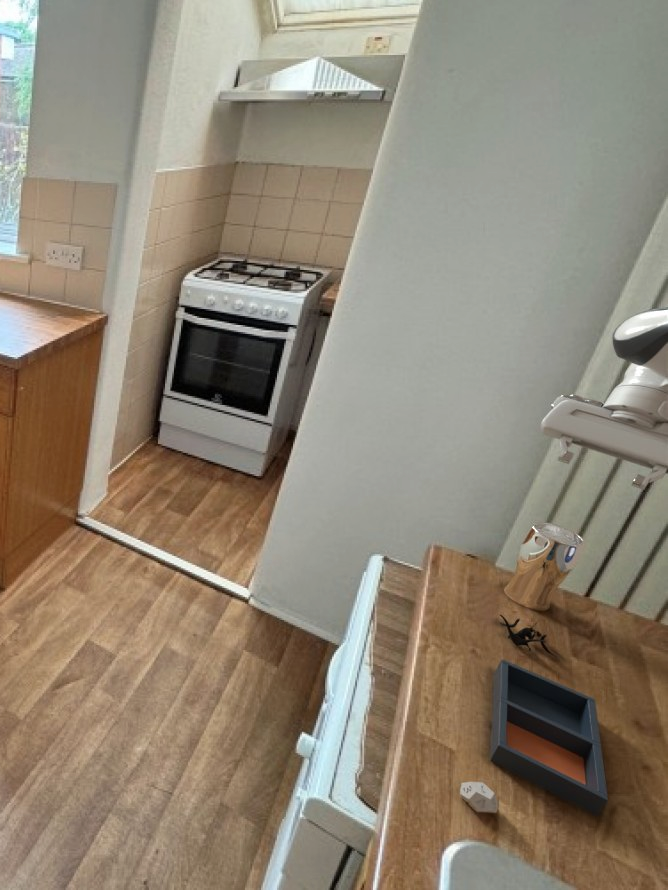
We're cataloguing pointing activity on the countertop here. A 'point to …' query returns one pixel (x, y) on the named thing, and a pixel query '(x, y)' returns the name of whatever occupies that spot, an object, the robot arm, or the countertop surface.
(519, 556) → the beer glass
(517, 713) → the glass rack
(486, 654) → the countertop surface
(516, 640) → the creature
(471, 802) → the game die
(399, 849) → the countertop surface
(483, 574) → the countertop surface
